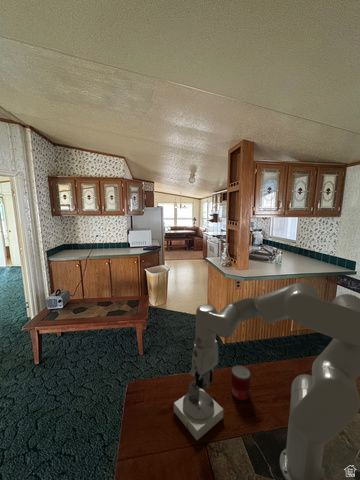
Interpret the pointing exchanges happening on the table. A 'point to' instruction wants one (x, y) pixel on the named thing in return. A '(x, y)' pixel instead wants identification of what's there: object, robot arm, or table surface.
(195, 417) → the pan
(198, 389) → the spacer
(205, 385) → the spacer
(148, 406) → the table surface
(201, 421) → the scale
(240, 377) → the canned food
